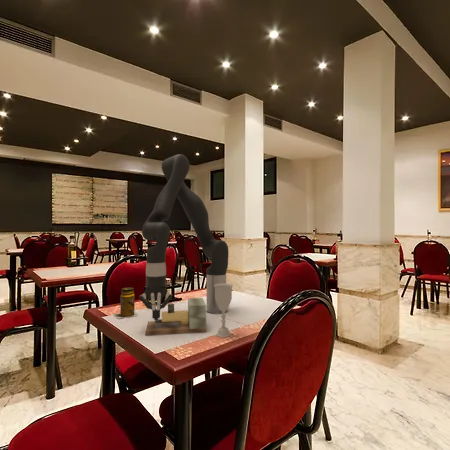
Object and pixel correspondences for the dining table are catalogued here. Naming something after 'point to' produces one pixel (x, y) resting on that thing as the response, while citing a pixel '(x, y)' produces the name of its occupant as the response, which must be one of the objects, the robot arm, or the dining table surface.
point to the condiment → (126, 303)
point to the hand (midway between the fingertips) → (156, 319)
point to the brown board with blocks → (194, 322)
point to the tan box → (175, 316)
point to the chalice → (223, 304)
